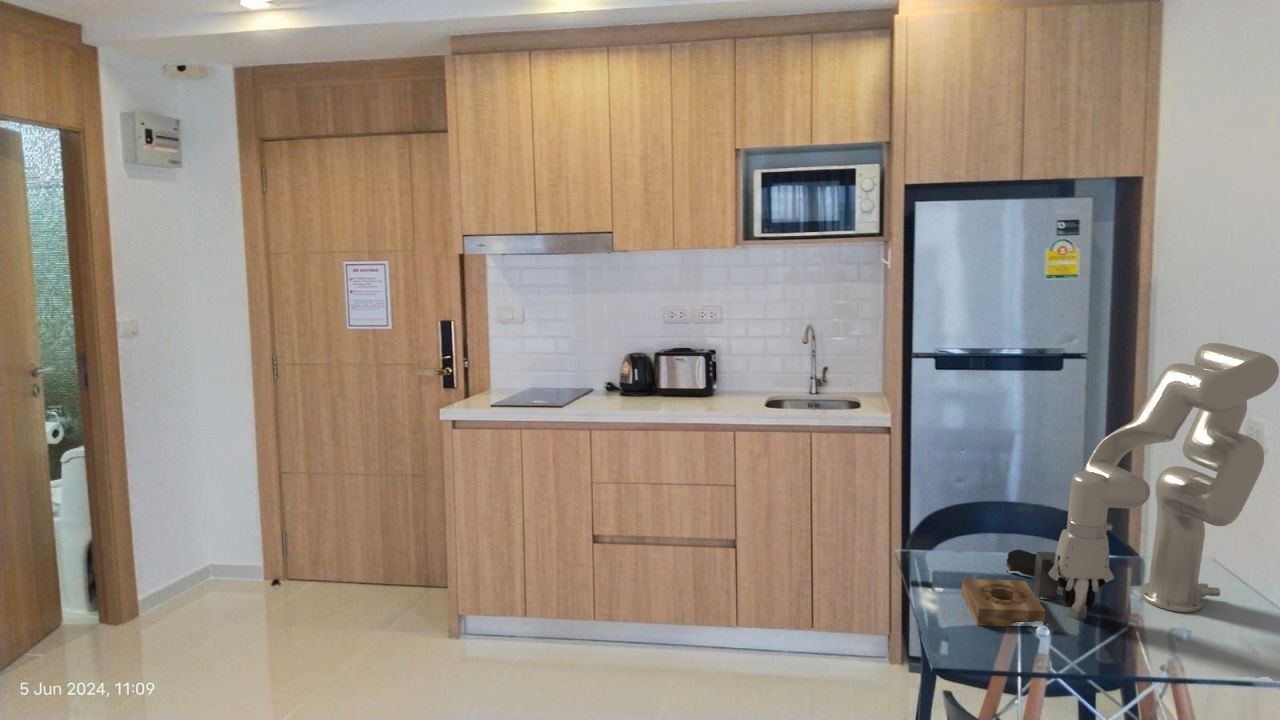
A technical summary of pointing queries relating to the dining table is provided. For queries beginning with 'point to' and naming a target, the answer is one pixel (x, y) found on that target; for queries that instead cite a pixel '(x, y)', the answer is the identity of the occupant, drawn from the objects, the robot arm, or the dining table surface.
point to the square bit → (1045, 576)
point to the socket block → (1001, 602)
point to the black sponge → (1022, 562)
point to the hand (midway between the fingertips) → (1077, 604)
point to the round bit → (1079, 599)
